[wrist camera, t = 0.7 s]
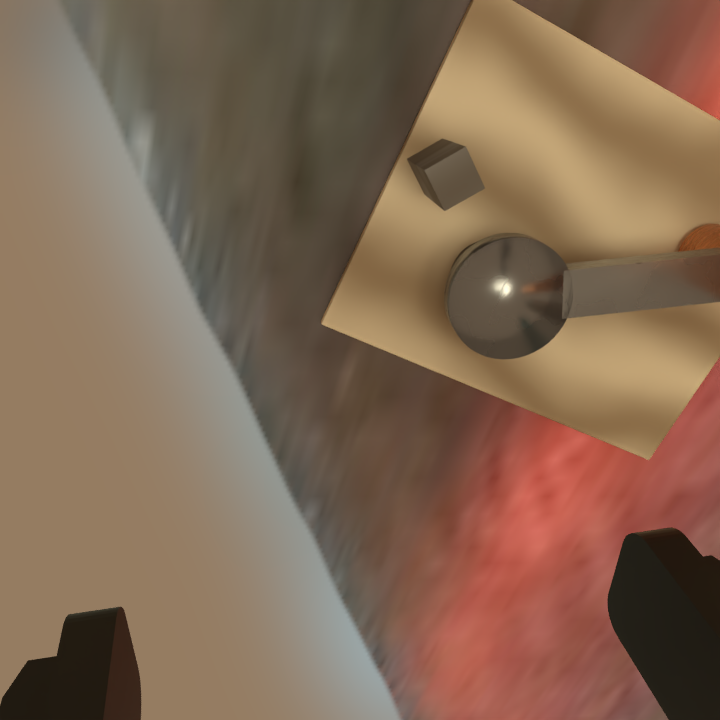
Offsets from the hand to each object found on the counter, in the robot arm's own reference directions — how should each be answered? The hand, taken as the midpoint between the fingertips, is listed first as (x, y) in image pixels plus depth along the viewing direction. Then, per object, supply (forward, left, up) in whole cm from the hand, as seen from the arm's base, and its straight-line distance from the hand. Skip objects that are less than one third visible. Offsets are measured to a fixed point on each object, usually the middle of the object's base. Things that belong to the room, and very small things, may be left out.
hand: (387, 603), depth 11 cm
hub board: (-5, +13, -27) cm, 30 cm away
